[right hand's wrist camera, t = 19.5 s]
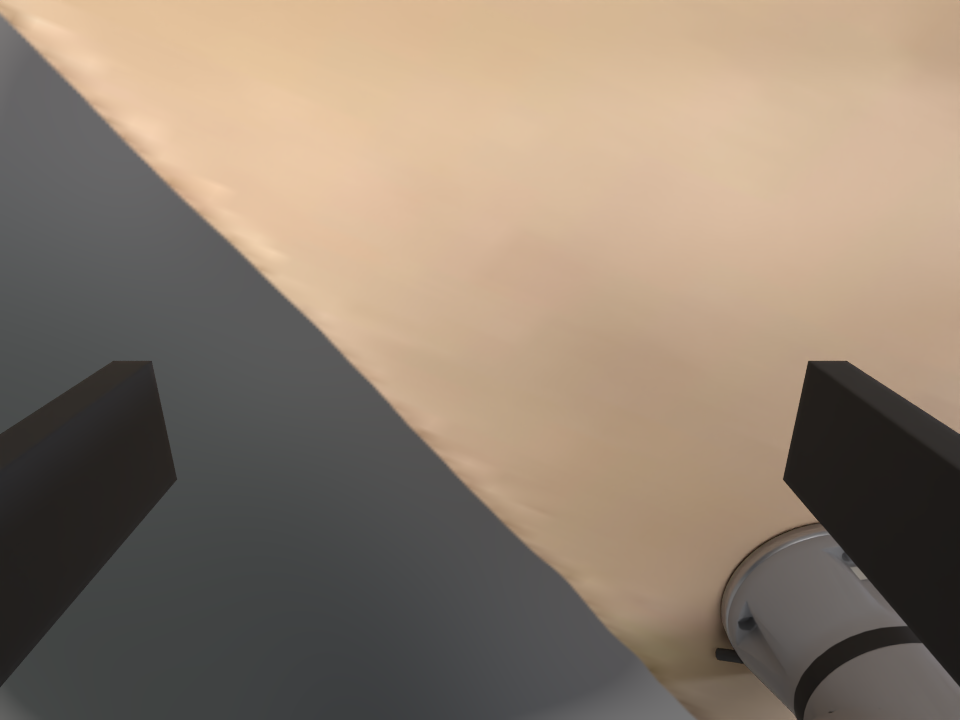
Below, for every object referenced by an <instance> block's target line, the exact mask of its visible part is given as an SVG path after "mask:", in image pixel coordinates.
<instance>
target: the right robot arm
mask: <svg viewBox="0 0 960 720" xmlns="http://www.w3.org/2000/svg"><path fill="white" fill-rule="evenodd" d="M176 480H177V477H176V473H175V468H174V463H173V459H172V454H171V449H170V445H169V440H168V435H167V431H166V426H165V421H164V417H163V412H162V407H161V403H160V398H159V393H158V388H157V384H156V379H155V375H154V370H153V365H152V361H113V362H111V363H110V364H108V365H106V366H105V367H103V368H102V369H100V370H99V371H97V372H96V373H94V374H93V375H91V376H89V377H88V378H86V379H85V380H83V381H82V382H80V383H79V384H77V385H76V386H74V387H72V388H71V389H69V390H68V391H66V392H65V393H63V394H62V395H60V396H59V397H57V398H56V399H54V400H52V401H51V402H49V403H48V404H46V405H45V406H43V407H42V408H40V409H38V410H37V411H35V412H34V413H32V414H31V415H29V416H28V417H26V418H25V419H23V420H22V421H20V422H18V423H17V424H15V425H14V426H12V427H11V428H9V429H8V430H6V431H5V432H3V433H1V434H0V687H1V686H2V684H3V683H4V682H5V681H6V680H7V678H8V677H9V676H10V675H11V674H12V673H13V672H14V670H15V669H16V668H17V667H18V666H19V664H20V663H21V662H22V661H23V660H24V659H25V657H26V656H27V655H28V654H29V653H30V651H31V650H32V649H33V648H34V647H35V646H36V644H37V643H38V642H39V641H40V640H41V639H42V637H43V636H44V635H45V634H46V633H47V632H48V630H49V629H50V628H51V627H52V626H53V624H54V623H55V622H56V621H57V620H58V619H59V617H60V616H61V615H62V614H63V613H64V612H65V610H66V609H67V608H68V607H69V606H70V605H71V603H72V602H73V601H74V600H75V599H76V597H77V596H78V595H79V594H80V593H81V592H82V590H83V589H84V588H85V587H86V586H87V585H88V583H89V582H90V581H91V580H92V579H93V578H94V576H95V575H96V574H97V573H98V572H99V570H100V569H101V568H102V567H103V566H104V564H105V563H106V562H107V561H108V560H109V559H110V557H111V556H112V555H113V554H114V553H115V552H116V550H117V549H118V548H119V547H120V546H121V545H122V543H123V542H124V541H125V540H126V539H127V538H128V536H129V535H130V534H131V533H132V532H133V530H134V529H135V528H136V527H137V526H138V525H139V523H140V522H141V521H142V520H143V519H144V518H145V516H146V515H147V514H148V513H149V512H150V511H151V509H152V508H153V507H154V506H155V505H156V503H157V502H158V501H159V500H160V499H161V498H162V496H163V495H164V494H165V493H166V492H167V490H168V489H169V488H170V487H171V486H172V485H173V483H174V482H175V481H176ZM783 480H784V481H785V482H786V484H787V485H788V486H789V487H790V488H791V489H792V491H793V492H794V493H795V494H796V495H797V496H798V498H799V499H800V500H801V501H802V502H803V503H804V505H805V506H806V507H807V508H808V509H809V511H810V512H811V513H812V514H813V515H814V516H815V518H816V519H817V520H818V521H819V522H820V523H819V524H813V525H808V526H804V527H800V528H797V529H794V530H791V531H788V532H786V533H783V534H781V535H779V536H777V537H775V538H773V539H771V540H769V541H768V542H766V543H765V544H763V545H762V546H760V547H759V548H758V549H756V550H755V551H754V552H752V553H751V554H750V555H749V556H748V557H747V558H746V559H745V560H744V561H743V562H742V563H741V564H740V565H739V567H738V568H737V569H736V570H735V572H734V573H733V575H732V577H731V578H730V580H729V582H728V584H727V586H726V589H725V591H724V594H723V598H722V605H721V617H722V623H723V626H724V629H725V632H726V634H727V636H728V638H729V640H730V642H731V644H732V646H733V648H734V650H729V649H721V648H717V649H716V658H717V659H718V660H722V661H729V662H736V663H742V664H745V665H746V666H747V667H748V668H749V669H750V670H751V671H752V672H753V673H754V674H755V675H756V676H757V677H758V679H759V680H760V681H761V682H762V683H763V684H764V685H765V686H766V687H767V688H768V689H769V690H770V691H771V692H772V693H773V694H774V695H775V696H776V697H777V698H778V699H779V700H780V701H781V702H782V703H783V704H784V705H785V706H786V707H787V708H788V709H789V710H790V711H791V712H792V713H793V714H794V715H795V716H796V718H797V720H960V434H959V433H957V432H955V431H954V430H952V429H951V428H949V427H948V426H946V425H945V424H943V423H942V422H940V421H938V420H937V419H935V418H934V417H932V416H931V415H929V414H928V413H926V412H925V411H923V410H921V409H920V408H918V407H917V406H915V405H914V404H912V403H911V402H909V401H908V400H906V399H905V398H903V397H901V396H900V395H898V394H897V393H895V392H894V391H892V390H891V389H889V388H888V387H886V386H884V385H883V384H881V383H880V382H878V381H877V380H875V379H874V378H872V377H871V376H869V375H867V374H866V373H864V372H863V371H861V370H860V369H858V368H857V367H855V366H854V365H852V364H851V363H849V362H847V361H808V365H807V370H806V374H805V379H804V384H803V388H802V393H801V398H800V403H799V407H798V412H797V417H796V421H795V426H794V431H793V435H792V440H791V445H790V449H789V454H788V459H787V463H786V468H785V473H784V477H783Z"/></svg>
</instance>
